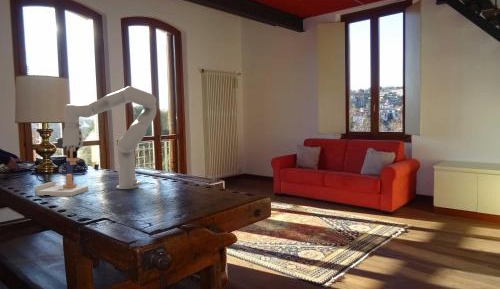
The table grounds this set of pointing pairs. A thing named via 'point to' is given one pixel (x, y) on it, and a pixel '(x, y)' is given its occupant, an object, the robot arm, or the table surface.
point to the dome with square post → (72, 157)
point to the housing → (60, 188)
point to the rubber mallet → (69, 167)
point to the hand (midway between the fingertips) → (72, 157)
